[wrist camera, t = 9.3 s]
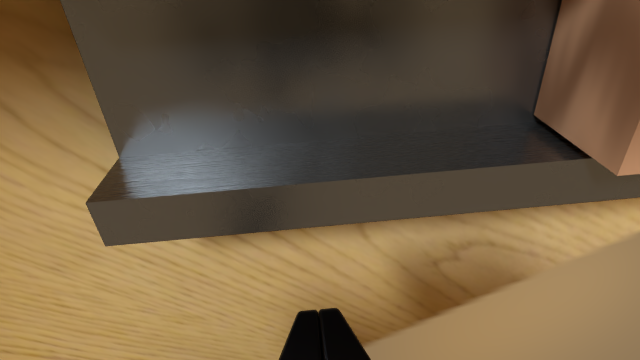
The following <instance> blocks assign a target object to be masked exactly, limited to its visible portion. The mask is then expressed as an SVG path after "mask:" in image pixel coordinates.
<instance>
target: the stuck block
mask: <svg viewBox="0 0 640 360" xmlns="http://www.w3.org/2000/svg"><path fill="white" fill-rule="evenodd" d="M534 115H535V116H536V117H537V118H539V119H540V120H542V121H543V122H544V123H546V124H547V125H548V126H550V127H551V128H552V129H554V130H555V131H557V132H558V133H559V134H561V135H562V136H563V137H565V138H566V139H567V140H569V141H570V142H572V143H573V144H574V145H576V146H577V147H578V148H580V149H581V150H582V151H584V152H585V153H587V154H588V155H589V156H591V157H592V158H593V159H595V160H596V161H597V162H599V163H600V164H602V165H603V166H604V167H606V168H607V169H608V170H610V171H611V172H612V173H614V174H615V175H617V176H622V175H633V174H640V0H562V2H561V7H560V11H559V15H558V19H557V23H556V27H555V31H554V35H553V39H552V43H551V47H550V51H549V55H548V59H547V63H546V67H545V72H544V76H543V80H542V84H541V88H540V92H539V96H538V100H537V104H536V108H535V112H534Z"/></svg>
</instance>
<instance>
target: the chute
mask: <svg viewBox="0 0 640 360" xmlns="http://www.w3.org/2000/svg"><path fill="white" fill-rule="evenodd" d="M60 1H61V4H62V6H63V9H64V12H65V14H66V17H67V20H68V22H69V25H70V28H71V30H72V33H73V36H74V38H75V41H76V44H77V46H78V49H79V52H80V54H81V57H82V60H83V62H84V65H85V67H86V70H87V73H88V75H89V78H90V81H91V83H92V86H93V89H94V91H95V94H96V97H97V99H98V102H99V105H100V107H101V110H102V113H103V115H104V118H105V121H106V123H107V126H108V129H109V131H110V134H111V137H112V139H113V142H114V144H115V147H116V150H117V152H118V155H119V159H118V160H117V161H116V163H115V164H114V166H113V167H112V168H111V170H110V171H109V172H108V174H107V175H106V176H105V178H104V179H103V180H102V182H101V183H100V184H99V186H98V187H97V188H96V190H95V191H94V192H93V194H92V195H91V196H90V198H89V199H88V200H87V202H86V205H87V207H88V210H89V212H90V214H91V216H92V218H93V220H94V223H95V225H96V227H97V229H98V231H99V233H100V236H101V238H102V240H103V242H104V244H105V246H114V245H125V244H136V243H147V242H157V241H168V240H179V239H190V238H201V237H212V236H223V235H234V234H245V233H256V232H267V231H278V230H289V229H300V228H311V227H321V226H332V225H343V224H354V223H365V222H376V221H387V220H398V219H409V218H420V217H431V216H442V215H453V214H464V213H474V212H485V211H496V210H507V209H518V208H529V207H540V206H551V205H562V204H573V203H584V202H595V201H606V200H617V199H628V198H638V197H640V174H633V175H622V176H617V175H615V174H614V173H612V172H611V171H610V170H608V169H607V168H606V167H604V166H603V165H602V164H600V163H599V162H597V161H596V160H595V159H593V158H592V157H591V156H589V155H588V154H587V153H585V152H584V151H582V150H581V149H580V148H578V147H577V146H576V145H574V144H573V143H572V142H570V141H569V140H567V139H566V138H565V137H563V136H562V135H561V134H559V133H558V132H557V131H555V130H554V129H552V128H551V127H550V126H548V125H547V124H546V123H544V122H543V121H542V120H540V119H539V118H537V117H536V116H535V115H534V112H535V108H536V104H537V100H538V96H539V92H540V88H541V84H542V80H543V76H544V72H545V67H546V63H547V59H548V55H549V51H550V47H551V43H552V39H553V35H554V31H555V27H556V23H557V19H558V15H559V11H560V7H561V2H562V0H60Z"/></svg>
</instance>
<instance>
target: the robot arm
mask: <svg viewBox="0 0 640 360" xmlns="http://www.w3.org/2000/svg"><path fill="white" fill-rule="evenodd" d="M318 314H319V316H318ZM279 360H371V359H370V358H369V356H368V355H367V353H366V351H365V350H364V348H363V347H362V345H361V343H360V342H359V340H358V339H357V337H356V336H355V334H354V332H353V331H352V329H351V328H350V326H349V325H348V323H347V321H346V320H345V318H344V317H343V315H342V314H341V312H340V311H339V310H338V309H337V308H329V309H321V310H320V311H319V313H318V312H317V311H316V310H307V311H300V312H298V314H297V316H296V318H295V321H294V323H293V326H292V328H291V330H290V333H289V335H288V338H287V340H286V343H285V345H284V348H283V350H282V353H281V355H280V358H279Z"/></svg>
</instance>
